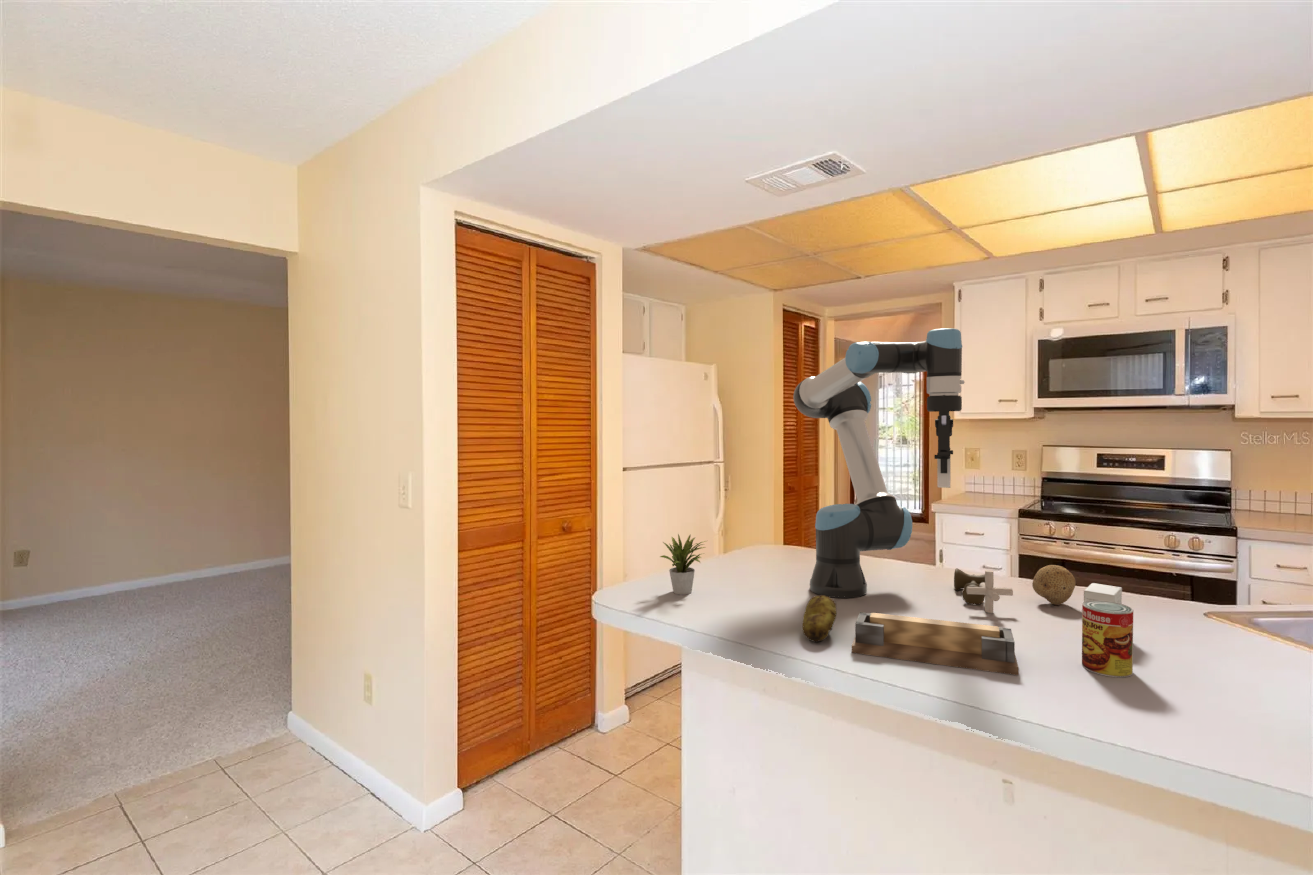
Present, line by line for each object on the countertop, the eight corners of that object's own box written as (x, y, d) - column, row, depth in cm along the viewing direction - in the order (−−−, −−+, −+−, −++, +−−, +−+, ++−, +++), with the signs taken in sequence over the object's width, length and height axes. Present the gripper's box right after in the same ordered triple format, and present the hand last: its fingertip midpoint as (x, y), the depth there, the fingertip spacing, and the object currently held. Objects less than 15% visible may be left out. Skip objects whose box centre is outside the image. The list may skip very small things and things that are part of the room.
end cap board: (851, 652, 131) (851, 626, 131) (859, 633, 142) (859, 609, 142) (1018, 675, 119) (1018, 646, 119) (1012, 652, 130) (1013, 626, 130)
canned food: (1072, 660, 125) (1073, 600, 125) (1113, 660, 125) (1114, 600, 124) (1099, 677, 117) (1099, 613, 117) (1143, 677, 117) (1143, 612, 116)
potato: (787, 639, 140) (787, 603, 140) (814, 623, 150) (814, 589, 149) (823, 647, 134) (822, 610, 134) (848, 631, 144) (848, 596, 144)
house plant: (702, 602, 168) (701, 540, 167) (651, 599, 172) (650, 538, 171) (713, 587, 181) (712, 530, 181) (666, 585, 185) (665, 529, 185)
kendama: (952, 605, 164) (954, 583, 181) (994, 610, 159) (992, 587, 177) (952, 582, 163) (954, 562, 181) (995, 587, 159) (993, 566, 177)
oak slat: (870, 640, 134) (869, 616, 134) (871, 635, 137) (871, 612, 137) (999, 656, 124) (999, 631, 124) (998, 651, 127) (998, 626, 126)
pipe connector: (1018, 619, 150) (1018, 577, 149) (972, 617, 152) (972, 575, 151) (1004, 606, 160) (1004, 566, 159) (961, 604, 162) (961, 565, 161)
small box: (1091, 628, 143) (1091, 582, 142) (1121, 634, 139) (1122, 586, 138) (1082, 638, 137) (1082, 589, 137) (1114, 644, 133) (1114, 594, 133)
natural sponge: (1042, 609, 156) (1042, 569, 156) (1025, 599, 165) (1026, 560, 165) (1082, 610, 155) (1082, 569, 155) (1063, 599, 164) (1063, 561, 164)
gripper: (962, 393, 138) (962, 491, 139) (960, 395, 161) (960, 479, 162) (924, 394, 142) (925, 489, 142) (928, 396, 164) (928, 478, 165)
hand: (944, 484), depth 152 cm, fingers open, 13 cm apart
